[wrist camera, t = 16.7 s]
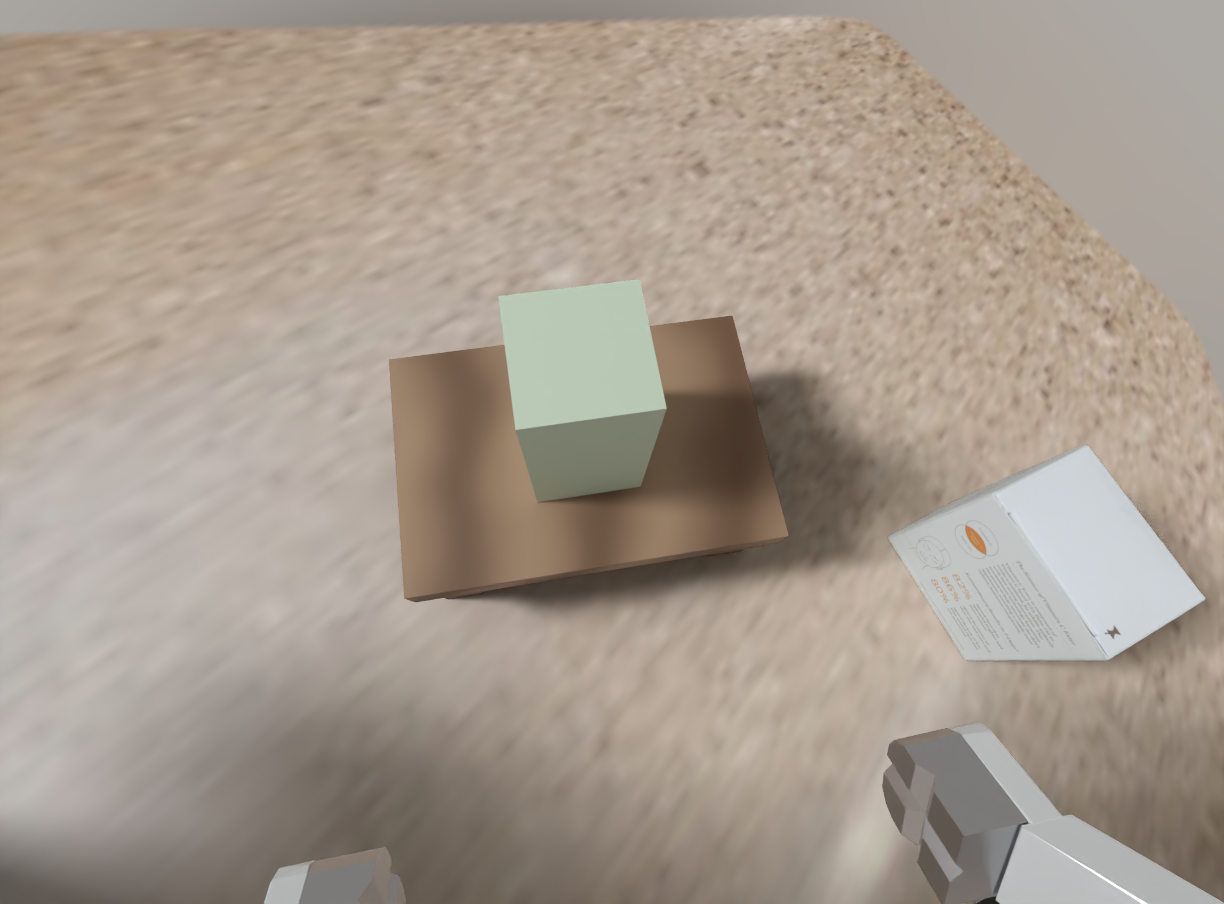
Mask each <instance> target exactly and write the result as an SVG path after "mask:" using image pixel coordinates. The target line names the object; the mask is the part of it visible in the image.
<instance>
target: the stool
mask: <svg viewBox="0 0 1224 904" xmlns="http://www.w3.org/2000/svg"><path fill="white" fill-rule="evenodd" d="M650 331H651V336H652V341H653V345H654V350H655V355H656V360H657V365H658V369H659V374H660V379H661V384H662V388H663V393H664V398H665V403H666V408H667V409H666V412H665V415H664V418H663V421H662V424H661V427H660V430H659V433H658V436H657V439H656V442H655V445H654V448H653V451H652V454H651V457H650V460H649V463H648V466H647V469H646V472H645V475H644V478H643V481H642V484H641V487H636V488H629V489H622V490H616V491H609V492H603V493H596V494H590V495H583V496H577V497H570V498H563V499H557V500H550V501H544V502H537V499H536V496H535V493H534V489H533V486H532V483H531V479H530V476H529V473H528V470H527V466H526V463H525V460H524V456H523V453H522V450H521V446H520V443H519V440H518V437H517V433H516V430H515V422H514V414H513V406H512V399H511V391H510V383H509V375H508V367H507V360H506V352H505V345H499V346H492V347H484V348H476V349H468V350H460V351H453V352H445V353H437V354H429V355H421V356H413V357H406V358H398V359H390V360H389V367H390V383H391V398H392V414H393V429H394V445H395V460H396V476H397V492H398V507H399V523H400V538H401V554H402V569H403V585H404V599H407V600H410V601H413V602H421V601H427V600H433V599H439V598H446V599H451V598H457V597H463V596H469V595H475V594H481V593H483V591H488V590H494V589H500V588H506V587H512V586H518V585H524V584H531V583H537V582H543V581H549V580H555V579H561V578H567V577H573V576H579V575H586V574H592V573H598V572H604V571H610V570H616V569H622V568H628V567H634V566H641V565H647V564H653V563H659V562H665V561H671V560H677V559H683V558H689V557H696V556H702V555H708V556H713V555H719V554H725V553H731V552H737V551H742V550H743V549H745V548H751V547H757V546H763V545H769V544H775V543H778V542H779V541H781V540H783V539H785V538H786V537H788V536H789V535H788V531H787V527H786V523H785V520H784V516H783V512H782V508H781V504H780V500H779V496H778V492H777V488H776V484H775V480H774V476H773V473H772V469H771V465H770V461H769V457H768V453H767V449H766V445H765V441H764V437H763V433H762V429H761V426H760V422H759V418H758V414H757V410H756V406H755V402H754V398H753V394H752V390H751V386H750V382H749V379H748V375H747V371H746V367H745V363H744V359H743V355H742V351H741V347H740V343H739V339H738V335H737V332H736V328H735V324H734V320H733V316H726V317H718V318H710V319H703V320H695V321H687V322H679V323H671V324H663V325H656V326H650Z"/></svg>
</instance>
